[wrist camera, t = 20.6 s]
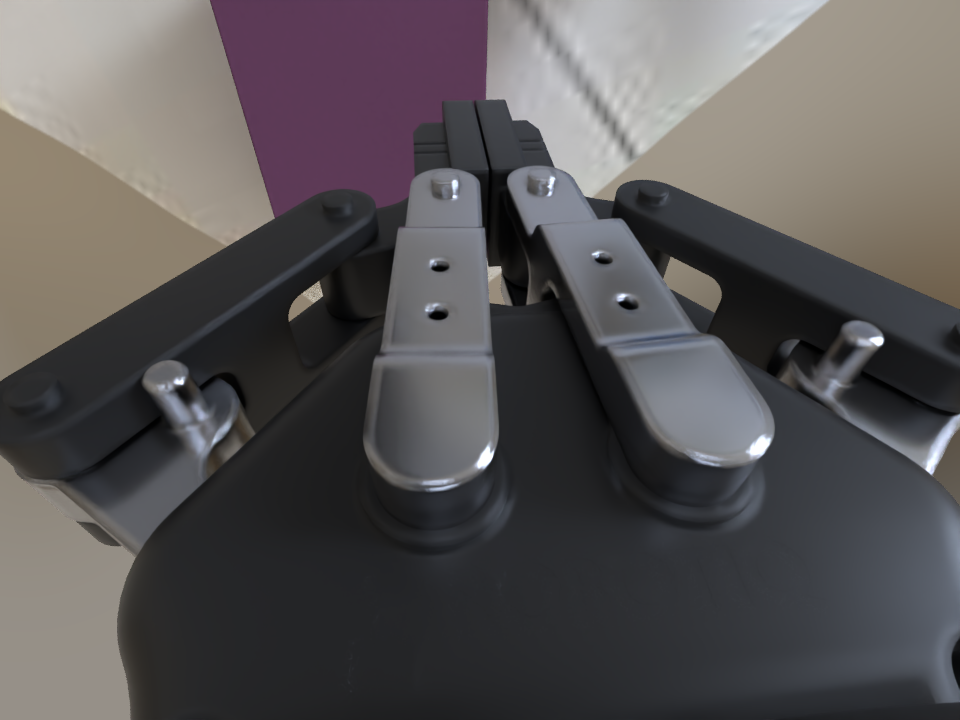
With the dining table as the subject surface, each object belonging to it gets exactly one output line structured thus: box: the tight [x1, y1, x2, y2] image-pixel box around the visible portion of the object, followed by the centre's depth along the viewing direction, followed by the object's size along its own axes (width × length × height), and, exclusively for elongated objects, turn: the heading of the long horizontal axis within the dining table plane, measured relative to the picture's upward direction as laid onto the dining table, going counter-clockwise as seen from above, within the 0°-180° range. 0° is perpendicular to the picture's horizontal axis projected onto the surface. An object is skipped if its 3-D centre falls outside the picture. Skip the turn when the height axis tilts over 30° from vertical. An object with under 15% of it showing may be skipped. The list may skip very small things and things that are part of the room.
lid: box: [210, 0, 488, 218], centre depth 30 cm, size 15×13×1 cm
